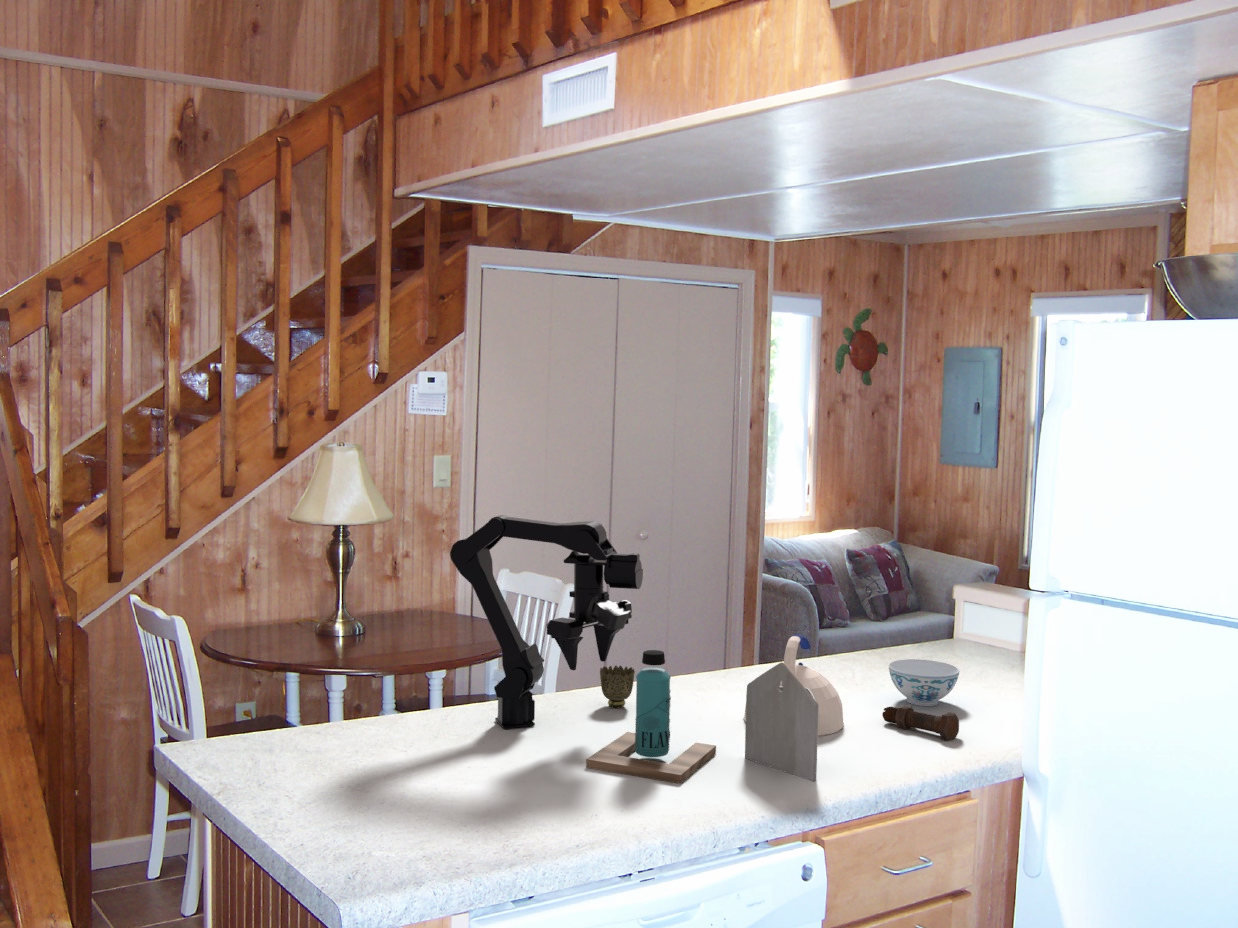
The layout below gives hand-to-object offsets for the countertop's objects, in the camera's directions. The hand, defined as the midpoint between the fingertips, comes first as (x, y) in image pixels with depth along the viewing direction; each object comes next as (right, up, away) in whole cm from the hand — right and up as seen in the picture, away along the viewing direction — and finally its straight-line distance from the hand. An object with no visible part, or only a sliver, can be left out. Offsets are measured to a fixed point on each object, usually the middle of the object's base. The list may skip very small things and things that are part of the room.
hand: (588, 665), depth 222 cm
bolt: (+66, -14, +5) cm, 68 cm away
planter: (+37, -15, -17) cm, 44 cm away
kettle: (+42, -14, +10) cm, 45 cm away
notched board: (+12, -14, -16) cm, 25 cm away
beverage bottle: (+12, -15, -16) cm, 25 cm away
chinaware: (+73, -13, +26) cm, 78 cm away
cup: (+6, -12, +18) cm, 23 cm away
